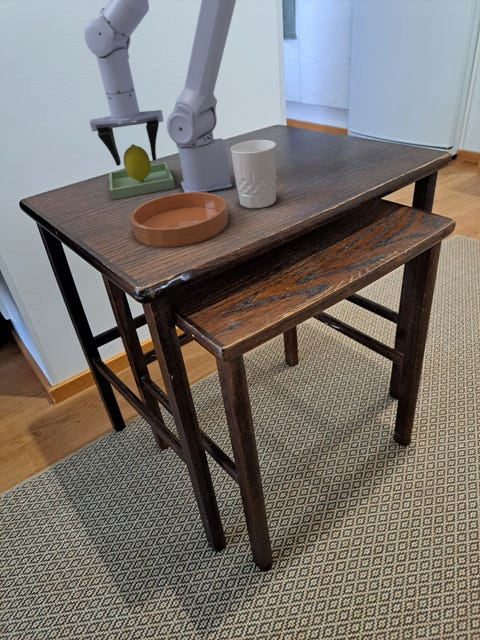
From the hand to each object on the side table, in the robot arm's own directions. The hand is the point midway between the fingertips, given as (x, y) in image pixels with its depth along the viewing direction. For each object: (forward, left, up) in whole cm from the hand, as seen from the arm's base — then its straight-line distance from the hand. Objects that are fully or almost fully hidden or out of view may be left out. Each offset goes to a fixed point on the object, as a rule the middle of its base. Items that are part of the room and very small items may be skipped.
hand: (136, 161), depth 96 cm
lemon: (0, 0, -5) cm, 5 cm away
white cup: (-20, +23, -5) cm, 31 cm away
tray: (0, 0, -5) cm, 5 cm away
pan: (-5, +27, -5) cm, 28 cm away
